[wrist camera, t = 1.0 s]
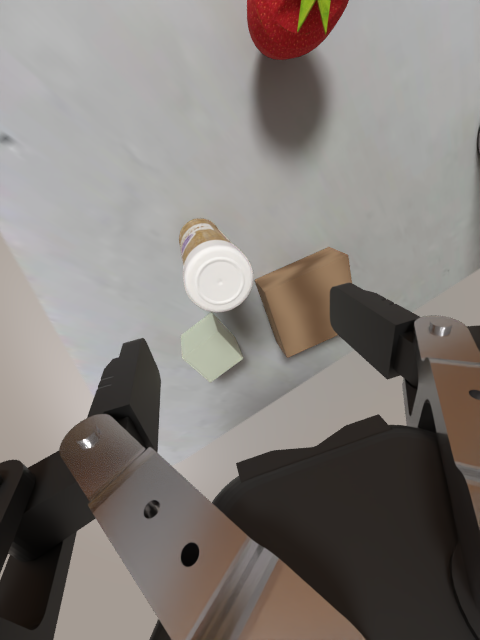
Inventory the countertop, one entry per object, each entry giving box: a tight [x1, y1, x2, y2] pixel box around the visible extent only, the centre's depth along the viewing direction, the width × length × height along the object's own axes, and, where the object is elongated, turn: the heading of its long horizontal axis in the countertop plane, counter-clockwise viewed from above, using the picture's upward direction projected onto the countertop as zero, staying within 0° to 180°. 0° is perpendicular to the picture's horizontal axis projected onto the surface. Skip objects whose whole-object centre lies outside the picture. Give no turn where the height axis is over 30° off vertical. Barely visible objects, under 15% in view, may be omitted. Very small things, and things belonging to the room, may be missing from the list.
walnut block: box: [255, 247, 352, 358], centre depth 32 cm, size 10×10×4 cm
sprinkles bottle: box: [179, 219, 253, 312], centre depth 22 cm, size 5×5×14 cm
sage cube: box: [181, 312, 244, 383], centre depth 32 cm, size 5×5×5 cm
